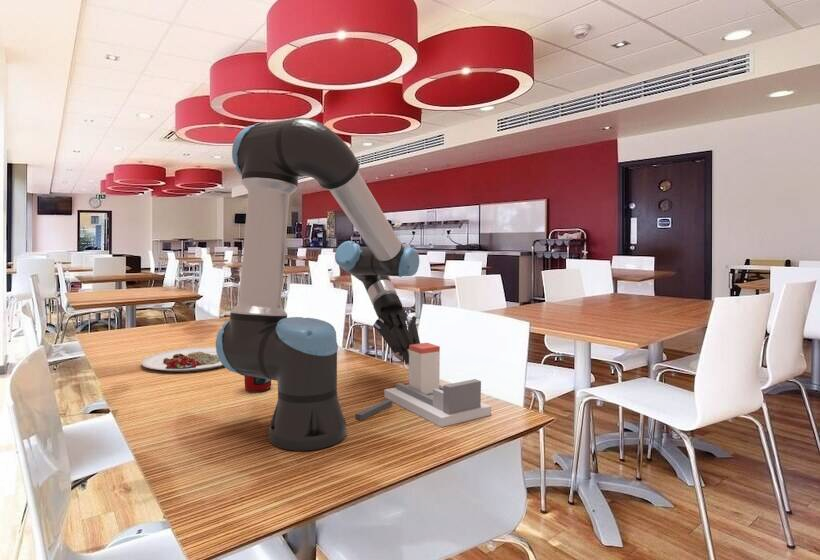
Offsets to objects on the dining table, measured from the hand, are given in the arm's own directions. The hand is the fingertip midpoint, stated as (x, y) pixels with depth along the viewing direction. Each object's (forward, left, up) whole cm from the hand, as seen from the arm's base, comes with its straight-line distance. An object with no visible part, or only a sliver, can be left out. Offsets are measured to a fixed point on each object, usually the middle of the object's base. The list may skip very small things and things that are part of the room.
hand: (418, 372), depth 127 cm
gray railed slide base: (-6, -7, -6) cm, 10 cm away
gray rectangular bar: (-15, +5, -6) cm, 17 cm away
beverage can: (-11, +41, -6) cm, 43 cm away
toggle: (-3, -3, -3) cm, 5 cm away
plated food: (+5, +79, -6) cm, 79 cm away
